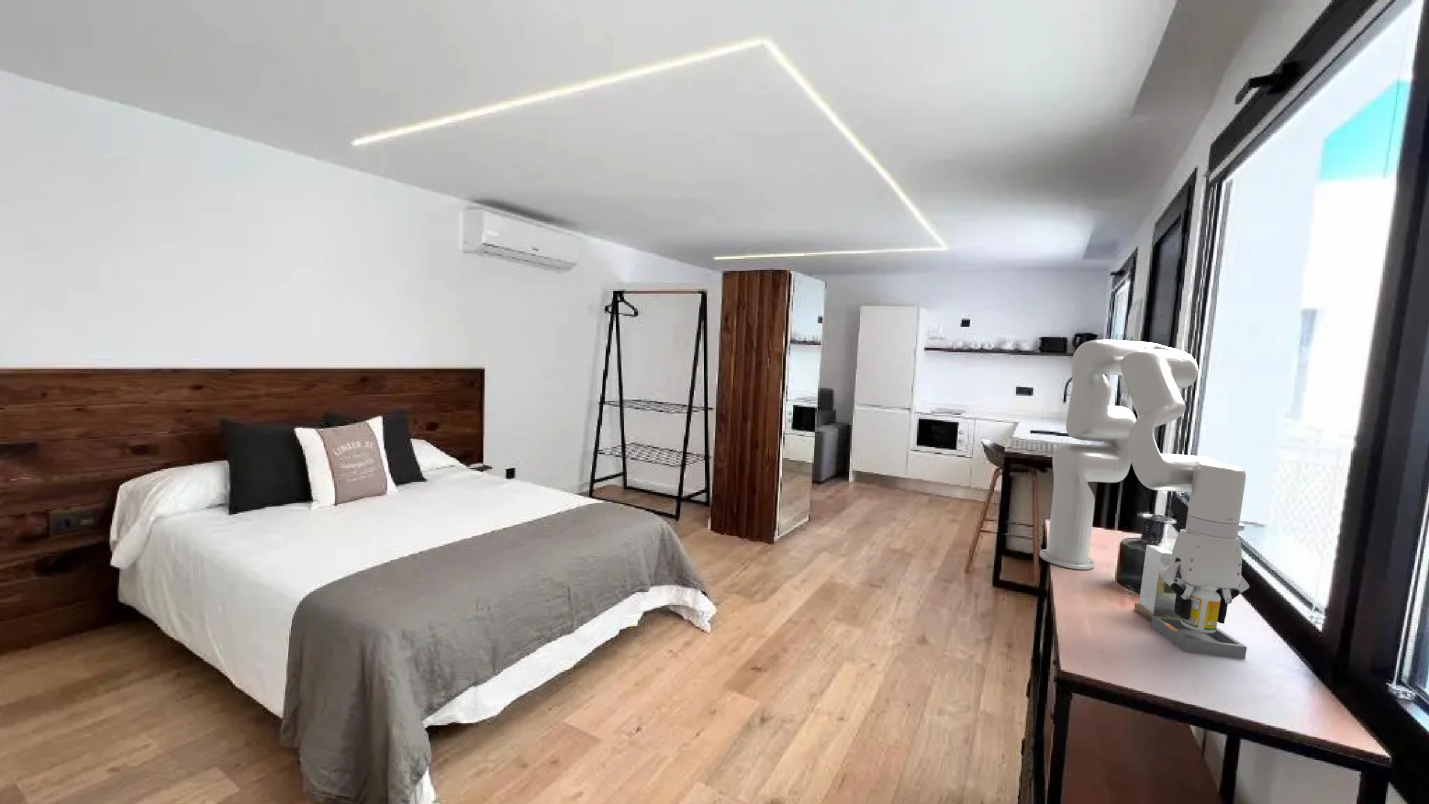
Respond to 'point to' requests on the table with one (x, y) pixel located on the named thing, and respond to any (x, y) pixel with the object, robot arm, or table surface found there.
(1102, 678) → the table surface
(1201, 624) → the supplement bottle
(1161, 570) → the box
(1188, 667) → the table surface
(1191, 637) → the tray
